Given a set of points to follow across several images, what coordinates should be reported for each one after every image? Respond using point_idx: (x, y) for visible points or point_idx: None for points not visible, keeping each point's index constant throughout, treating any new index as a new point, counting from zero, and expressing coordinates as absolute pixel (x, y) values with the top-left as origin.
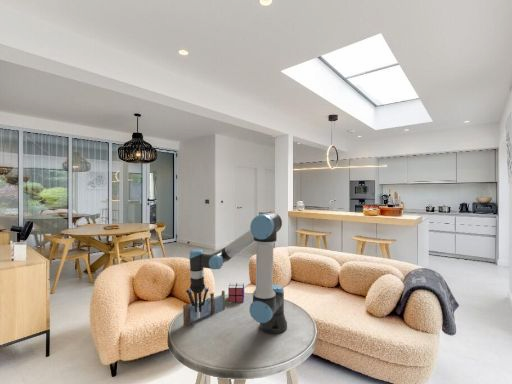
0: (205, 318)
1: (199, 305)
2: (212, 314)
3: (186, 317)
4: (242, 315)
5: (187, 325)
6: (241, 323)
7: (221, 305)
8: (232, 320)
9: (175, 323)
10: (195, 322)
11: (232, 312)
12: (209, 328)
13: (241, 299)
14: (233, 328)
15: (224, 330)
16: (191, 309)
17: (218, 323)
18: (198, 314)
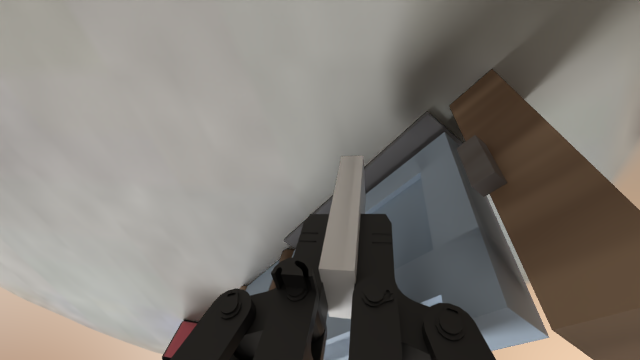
0: (320, 207)
1: (300, 297)
2: (288, 249)
3: (528, 123)
4: (106, 223)
5: (476, 88)
6: (38, 135)
7: None
8: (121, 174)
9: (624, 145)
10: (392, 150)
11: (180, 255)
12: (223, 47)
13: (180, 336)
14: (29, 57)
15: (69, 13)
16: (460, 253)
17: (190, 137)
18: (343, 184)
